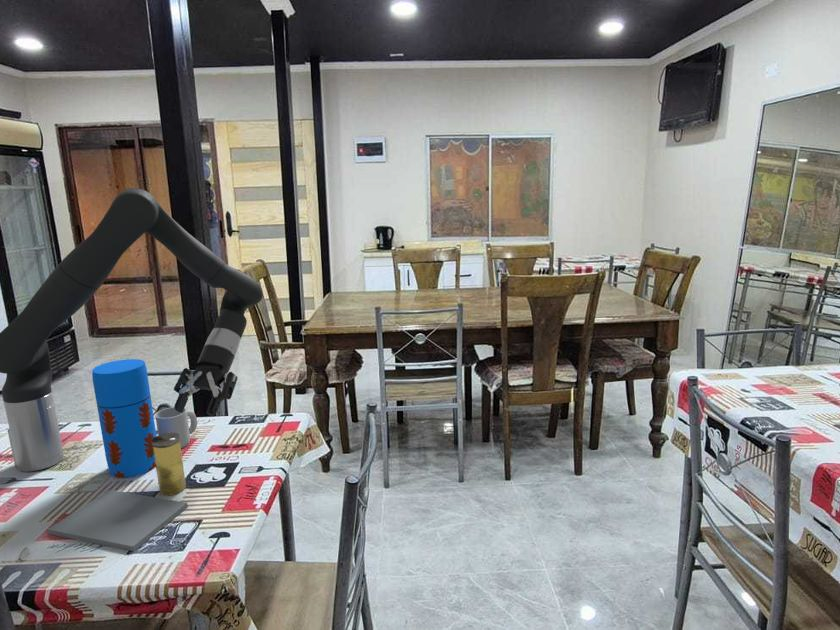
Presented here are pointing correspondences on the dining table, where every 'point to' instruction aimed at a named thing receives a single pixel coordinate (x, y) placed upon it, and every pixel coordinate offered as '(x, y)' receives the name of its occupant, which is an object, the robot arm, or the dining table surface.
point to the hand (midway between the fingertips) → (193, 412)
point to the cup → (176, 423)
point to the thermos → (125, 416)
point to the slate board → (119, 519)
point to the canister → (169, 463)
